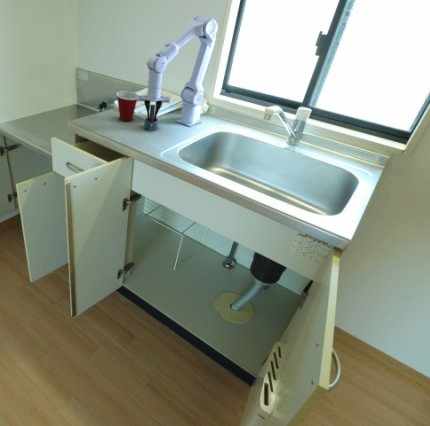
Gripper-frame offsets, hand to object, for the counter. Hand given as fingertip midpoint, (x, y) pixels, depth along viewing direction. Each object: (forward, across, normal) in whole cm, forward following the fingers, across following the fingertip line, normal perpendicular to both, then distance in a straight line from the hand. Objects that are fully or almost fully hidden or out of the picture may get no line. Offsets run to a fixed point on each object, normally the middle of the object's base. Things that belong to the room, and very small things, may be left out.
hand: (151, 117), depth 148 cm
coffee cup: (+5, 0, -1) cm, 5 cm away
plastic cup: (+5, -11, +9) cm, 16 cm away
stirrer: (+4, 0, 0) cm, 4 cm away
